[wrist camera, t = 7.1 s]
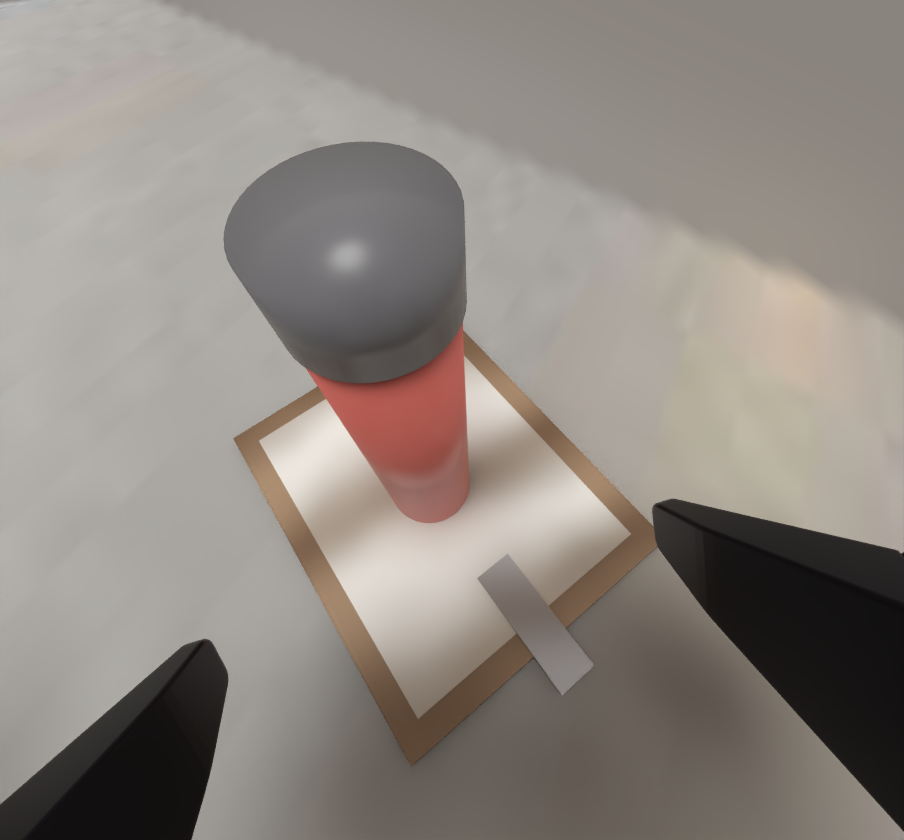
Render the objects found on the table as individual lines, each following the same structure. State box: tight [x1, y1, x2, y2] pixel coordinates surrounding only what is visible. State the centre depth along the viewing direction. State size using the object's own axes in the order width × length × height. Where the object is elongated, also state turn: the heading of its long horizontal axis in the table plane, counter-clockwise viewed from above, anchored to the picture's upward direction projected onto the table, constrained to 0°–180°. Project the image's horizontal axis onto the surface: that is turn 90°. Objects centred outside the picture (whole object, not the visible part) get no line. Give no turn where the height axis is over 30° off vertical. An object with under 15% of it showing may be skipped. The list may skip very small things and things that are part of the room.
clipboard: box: [233, 331, 657, 766], centre depth 19 cm, size 18×13×1 cm
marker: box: [224, 142, 470, 523], centre depth 13 cm, size 4×4×14 cm
